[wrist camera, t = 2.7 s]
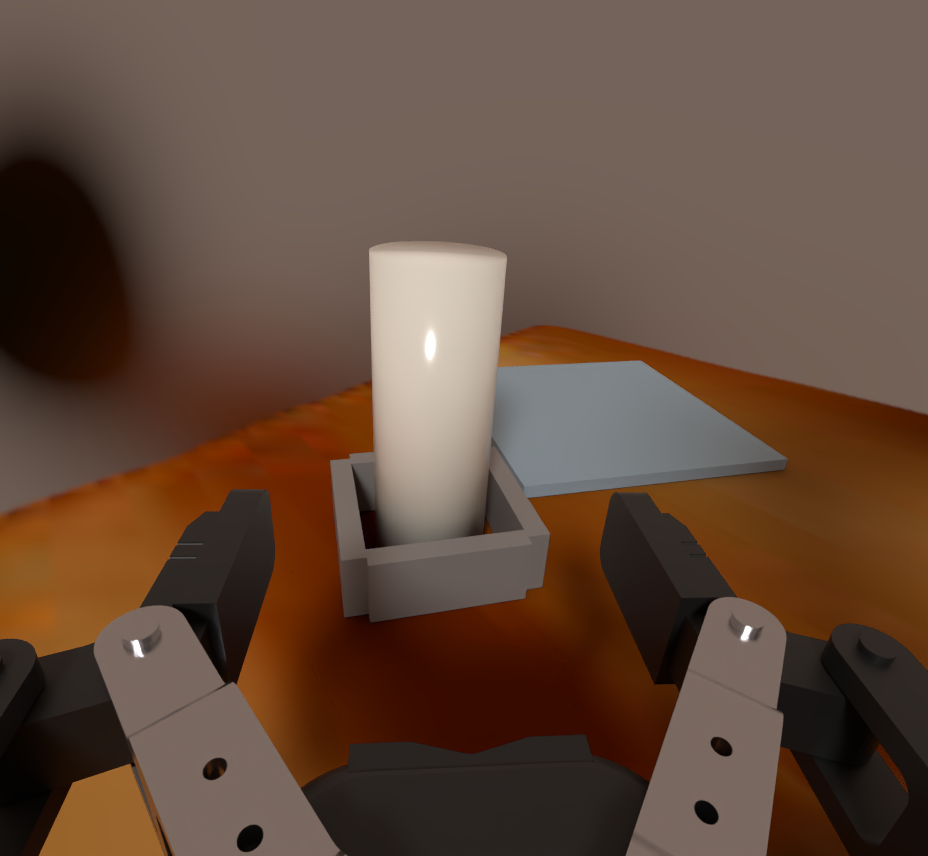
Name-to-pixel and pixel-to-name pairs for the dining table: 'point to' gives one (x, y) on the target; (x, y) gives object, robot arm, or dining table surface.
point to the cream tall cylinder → (433, 386)
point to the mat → (613, 430)
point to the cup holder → (436, 551)
